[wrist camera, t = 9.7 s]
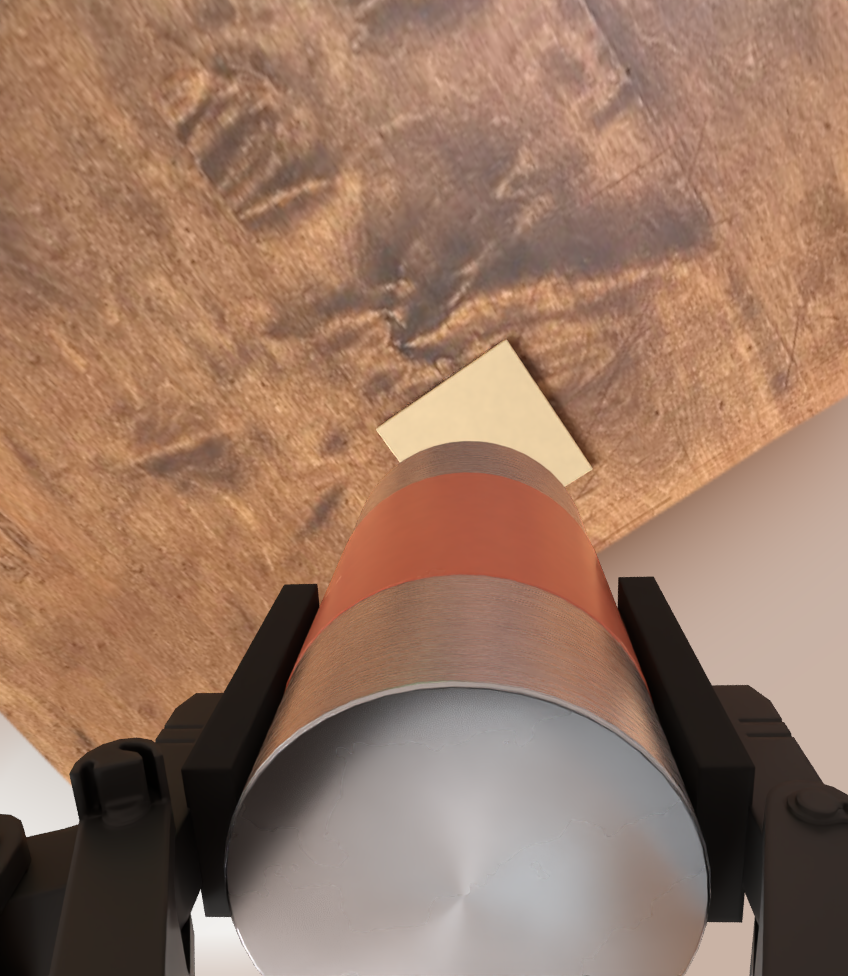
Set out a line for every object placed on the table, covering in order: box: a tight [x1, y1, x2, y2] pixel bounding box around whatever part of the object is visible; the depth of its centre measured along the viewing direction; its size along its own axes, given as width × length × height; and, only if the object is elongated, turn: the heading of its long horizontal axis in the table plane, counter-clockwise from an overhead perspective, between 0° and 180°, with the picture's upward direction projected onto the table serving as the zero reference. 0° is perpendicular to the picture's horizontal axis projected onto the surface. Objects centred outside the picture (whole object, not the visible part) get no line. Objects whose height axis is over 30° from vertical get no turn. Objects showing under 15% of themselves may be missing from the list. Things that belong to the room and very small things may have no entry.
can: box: [224, 441, 711, 976], centre depth 17 cm, size 7×7×12 cm
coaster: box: [376, 339, 593, 487], centre depth 40 cm, size 8×8×1 cm
